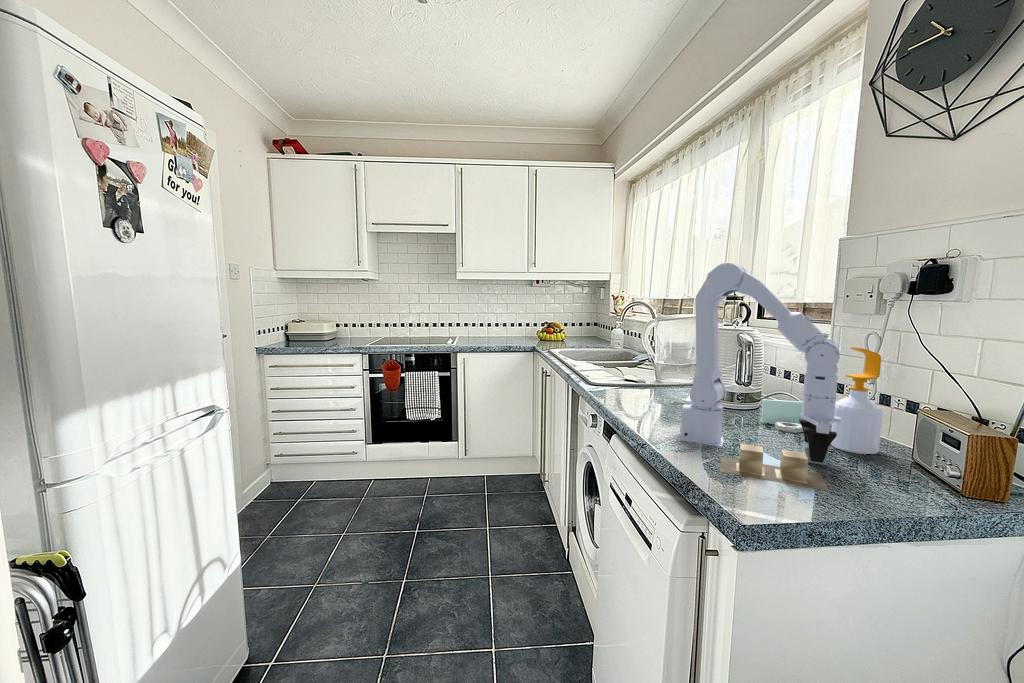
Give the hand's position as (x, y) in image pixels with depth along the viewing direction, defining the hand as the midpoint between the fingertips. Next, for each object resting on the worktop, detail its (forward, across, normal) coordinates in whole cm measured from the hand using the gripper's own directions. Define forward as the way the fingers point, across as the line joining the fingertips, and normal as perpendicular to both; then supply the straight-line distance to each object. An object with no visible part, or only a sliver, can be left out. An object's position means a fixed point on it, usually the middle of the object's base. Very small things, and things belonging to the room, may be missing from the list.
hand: (814, 456), depth 92 cm
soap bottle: (+2, +16, -10) cm, 19 cm away
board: (+1, -12, +9) cm, 15 cm away
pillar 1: (+1, -12, +12) cm, 18 cm away
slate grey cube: (+2, 0, 0) cm, 2 cm away
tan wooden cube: (+1, -12, +5) cm, 14 cm away
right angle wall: (+2, +26, +2) cm, 26 cm away
